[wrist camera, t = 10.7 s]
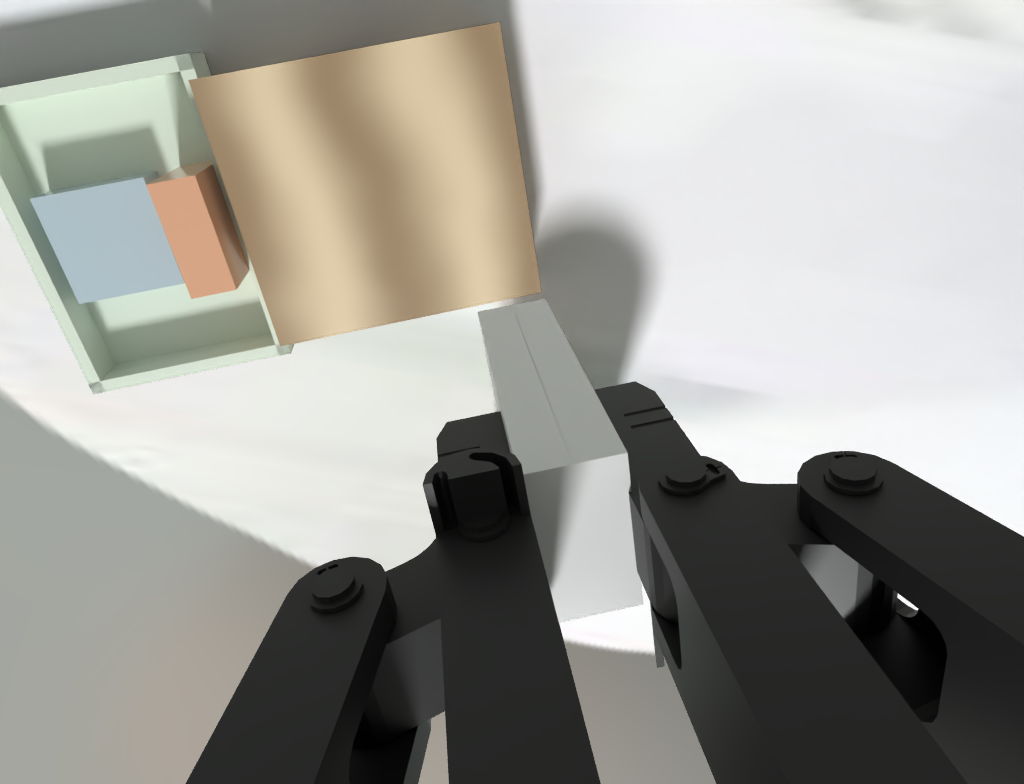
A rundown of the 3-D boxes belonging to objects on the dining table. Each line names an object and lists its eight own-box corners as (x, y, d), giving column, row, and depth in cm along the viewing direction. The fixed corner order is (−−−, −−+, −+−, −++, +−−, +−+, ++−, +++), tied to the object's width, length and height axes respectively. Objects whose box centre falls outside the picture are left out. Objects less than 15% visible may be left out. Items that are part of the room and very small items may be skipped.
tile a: (194, 175, 29) (146, 184, 29) (236, 289, 31) (191, 299, 31) (222, 158, 34) (179, 166, 33) (256, 259, 36) (217, 267, 36)
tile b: (29, 198, 31) (49, 190, 33) (79, 304, 34) (95, 291, 35) (143, 177, 32) (156, 170, 33) (184, 283, 34) (195, 271, 36)
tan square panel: (489, 24, 33) (499, 21, 30) (528, 269, 39) (541, 292, 35) (211, 76, 32) (188, 80, 29) (291, 318, 38) (280, 346, 34)
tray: (203, 52, 32) (188, 53, 30) (297, 335, 38) (290, 353, 36) (-22, 94, 31) (-54, 97, 29) (111, 373, 38) (93, 394, 36)
